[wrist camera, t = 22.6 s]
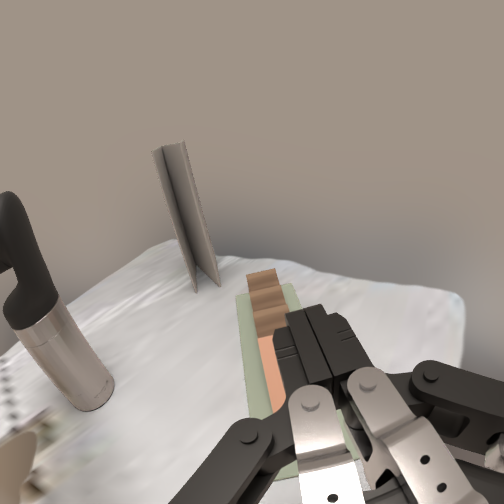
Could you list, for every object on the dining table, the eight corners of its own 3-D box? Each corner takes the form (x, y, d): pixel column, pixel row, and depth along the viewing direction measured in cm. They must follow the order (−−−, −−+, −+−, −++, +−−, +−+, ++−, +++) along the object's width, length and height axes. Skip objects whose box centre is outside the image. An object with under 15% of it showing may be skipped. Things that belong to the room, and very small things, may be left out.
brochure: (221, 286, 59) (181, 142, 46) (195, 293, 59) (151, 151, 45) (215, 257, 72) (184, 139, 58) (194, 263, 71) (160, 146, 58)
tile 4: (291, 326, 41) (274, 268, 48) (258, 333, 41) (245, 274, 48) (291, 331, 43) (275, 275, 50) (259, 338, 43) (247, 281, 50)
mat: (359, 458, 22) (360, 457, 22) (259, 483, 22) (258, 482, 22) (291, 285, 55) (291, 282, 54) (236, 297, 55) (235, 295, 54)
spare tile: (319, 411, 27) (296, 329, 34) (275, 422, 27) (257, 338, 34) (317, 413, 29) (296, 335, 36) (276, 423, 29) (259, 344, 36)
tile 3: (298, 350, 37) (280, 284, 44) (262, 358, 37) (248, 292, 44) (298, 354, 38) (281, 291, 45) (264, 362, 38) (250, 298, 45)
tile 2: (307, 377, 32) (287, 304, 39) (268, 387, 32) (252, 312, 39) (307, 381, 34) (287, 310, 41) (269, 390, 34) (254, 318, 41)
